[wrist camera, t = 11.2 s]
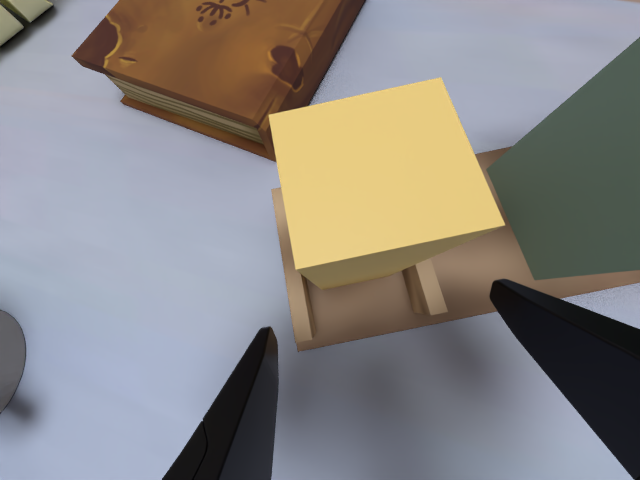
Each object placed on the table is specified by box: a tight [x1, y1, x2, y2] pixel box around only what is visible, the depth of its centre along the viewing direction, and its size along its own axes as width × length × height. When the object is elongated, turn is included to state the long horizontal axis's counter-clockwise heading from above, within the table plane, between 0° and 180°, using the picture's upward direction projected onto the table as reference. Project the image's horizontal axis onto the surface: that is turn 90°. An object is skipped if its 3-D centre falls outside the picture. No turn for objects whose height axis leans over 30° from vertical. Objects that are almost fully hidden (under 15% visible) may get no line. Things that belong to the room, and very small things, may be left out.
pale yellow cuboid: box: [269, 77, 505, 290], centre depth 12 cm, size 4×5×12 cm
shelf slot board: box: [271, 146, 640, 352], centre depth 11 cm, size 12×28×16 cm, turn 101°
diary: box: [72, 0, 365, 161], centre depth 23 cm, size 23×19×6 cm
